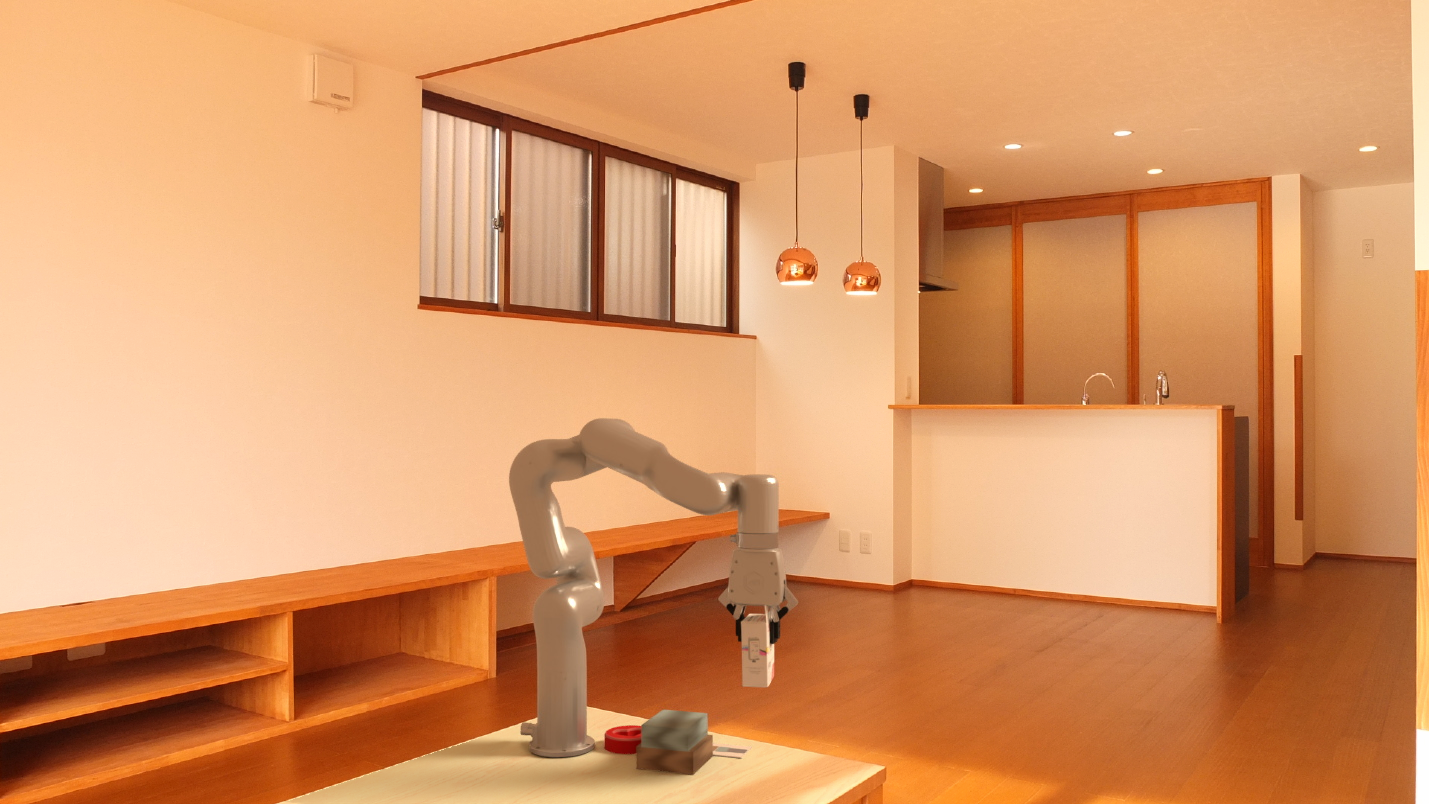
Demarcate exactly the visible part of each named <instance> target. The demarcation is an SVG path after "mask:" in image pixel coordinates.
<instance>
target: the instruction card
mask: <svg viewBox="0 0 1429 804" xmlns="http://www.w3.org/2000/svg"><path fill="white" fill-rule="evenodd" d="M751 749H752V746H751V745H750V746H749V745H741V744H739V745H738V744H729V743H720V742H719V743H717V742H713V756H715V757H724V758H734V759H742V758H743V757H744V756H745V755H747V753H748V752H750V750H751Z"/></svg>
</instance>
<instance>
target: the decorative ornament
mask: <svg viewBox="0 0 1429 804" xmlns="http://www.w3.org/2000/svg"><path fill="white" fill-rule="evenodd" d="M603 734H604V735H603V737H604V750H605V751H607V752H609V753H612V754H617V755H636V747H637V746H638V745H639V744H641V725H636V724H635V725H632V724H631V725H630V724H628V725H620V726H613V727H611V728H608V729H607V730H606V731H605V732H604V733H603Z"/></svg>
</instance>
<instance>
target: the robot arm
mask: <svg viewBox="0 0 1429 804" xmlns="http://www.w3.org/2000/svg"><path fill="white" fill-rule="evenodd" d="M606 468H608V469H611V470H612V471H615V472H616V473H619V474H622V475H624V476H626V477H628V478H630V479H632V480H635V481H636V482H638V483H641V484H643V485H645V487H646V488H648V490H649V489H650V490H651V491H653V492H654V493H656V494H657V495H659V496H660V497H661V498H664V499H666V500H667V501H670V502H671V503H674V504H675V505H677V506H680V507H682V508H685V509H687V510H688V511H691V512H694V513H696V514H698V515H703V516H709V517H710V516H716V515H718V514H724V513H728V512H736V511H737V531H736V533H735V534H730V537H729V541H730V542H731V543H734V544H736V547H737V548H734V549H733V550H732V554H731V560H730V566H729V575H728V586H727V587H726V588H725V590H724V591H722V593H721V594H720V595H719V596H718V601H719V602H720V603H721V604H722V605H723V606H724V607H725V608H726V610H728V612H729V613H730V614H731V616H732V617H733V619H734V620H735V636H736V637H737V642H738V643H740V642H741V643H742V636H741V622H742V621H743V620H744V619H745V618H746V617H747V616H745V611H746V609H747V606H753V607H756V606H757V607H765V605H767V606H769V609H768V610H769V611H770V613H771V616H772V621H771V622H770V643H771V644H774V645H775V644H776V643H778V640H779V639H780V638H781V620H783V618H784V617H785V616H786V615H788V613H789V612H790V611H791V610H793V609H794V608H795V607H797V605H798V604H799V600H798V599H797V598H796V597H795V595H794V594H793V592H792V591H791V590H790V589H789V587H788V586H787V575H786V566H785V559H784V554H783V549H781V548H779V547H780V546H779V543H780V542H779V541H780V539H779V537H780V536H779V534H780V533H779V531H780V530H779V527H780V525H779V524H780V523H779V522H780V521H779V517H780V516H779V514H780V512H779V511H780V510H779V509H780V508H779V506H780V505H779V504H780V501H779V499H780V498H779V497H780V496H779V495H780V494H779V487H780V486H779V484H780V483H779V480H778V478H777V477H776V476H775V475H771V474H755V473H754V474H744V475H743V474H737V473H731V472H712V473H708V472H705V471H703V470H701V469H699V468H695V467H693V466H692V465H689V464H687V463H685V462H683V461H681V460H679V459H678V458H675V456H673V455H672V454H670V452H669V450H668V447H667V446H666V445H665V444H663V443H662V442H661V441H658V440H656V439H654V438H651V437H649V436H646V435H645V434H642V433H639V432H638V431H636V430H635V428H634V427H633V426H632V425H631V424H630V423H629V422H628V421H626V420H623V419H620V418H607V417H606V418H605V417H603V418H600V417H599V418H595V419H592V420H590V421H588V422H586V424H585V425H584V426H583V427H582V428H581V430H580V431H579V434H577V435H575V436H572V437H569V438H560V439H559V438H547V439H546V438H545V439H539V440H536V441H534V442H531V443H529V444H527V445H526V446H524V447H523V448H522V449H521V450H520V451H519V452H518V453H517V455H516V456H515V457H514V459H513V461H512V462H511V466H510V469H509V475H508V483H509V490H510V491H509V492H510V493H511V494H510V495H511V499H512V501H513V504H514V505H513V506H514V508H515V512H516V515H517V520H518V525H519V530H520V535H521V539H522V543H523V548H524V552H525V557H526V560H527V564H528V567H529V569H530V571H531V573H532V574H534V575H535V577H538V578H539V579H542V580H543V579H544V580H549V579H550V580H551V579H555V580H556V584H555V585H551V586H550V587H548V588H546V589H544V591H542V592H541V593H540V594H539V595H538V597H537V598H536V600H535V602H534V605H533V609H532V621H533V627H534V633H535V640H536V662H537V664H536V668H537V671H536V672H537V681H536V683H537V684H536V685H537V688H536V690H537V694H536V695H537V698H536V699H537V701H536V702H537V703H536V706H537V714H536V715H537V716H536V717H537V720H536V723H532V722H526V721H525V722H524V721H523V722H522V723H521V724H520V736H530V737H531V738H532V739H531V741H529V745H528V746H529V747H528V749H529V751H530V752H531V753H532V754H534V755H537V756H540V757H546V758H547V757H548V758H567V757H574V756H580V755H584V754H587V753H589V752H591V751H592V750H593V749H594V748H595V746H596V744H595V739H594V738H593V737H592V736H590V735H588V730H587V729H588V725H587V724H588V721H587V720H588V717H587V716H588V713H587V712H588V711H587V709H588V706H587V705H588V703H587V702H588V696H587V693H588V691H587V689H588V688H587V686H588V685H587V684H588V683H587V681H588V676H587V674H588V673H587V672H588V671H587V670H588V669H587V668H588V667H587V665H588V664H587V662H588V661H587V649H586V642H585V639H584V635H583V628H584V627H586V626H588V625H591V624H593V623H594V622H596V621H597V620H598V618H600V616H601V615H602V614H603V610H604V607H605V593H604V589H603V586H602V585H603V584H602V580H601V576H600V571H599V568H598V564H597V560H596V555H595V552H594V549H593V545H592V544H591V541H590V540H589V537H587V535H586V534H585V533H584V532H583V531H581V530H580V529H578V528H575V527H572V526H566V525H565V523H564V519H563V515H562V509H561V506H560V503H559V501H558V499H557V496H556V495H555V494H554V492H553V489H552V484H554V483H559V482H569V481H574V480H578V479H580V478H581V479H582V478H584V477H586V476H588V475H592V474H593V473H597V472H599V471H601V470H603V469H606ZM785 601H787V603H786V605H784V606H783V607H781V606H780V604H781V603H784V602H785Z"/></svg>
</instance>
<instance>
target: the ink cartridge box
mask: <svg viewBox="0 0 1429 804" xmlns="http://www.w3.org/2000/svg"><path fill="white" fill-rule="evenodd" d="M745 617H746V618H745V619H744V620H743V621H742V622H741V636H742V642H741V674H742V675H741V677H742V679H741V683H742V684H741V686H742V687H747V688H748V687H750V688H768V687H769V686H770V684H771V682H772V681H773V679H774V677H775V643H774V644H771V643H770V622H771V621H772V616H771V613H770V609H769V606H767V605H765V606H764V613H748V615H747V616H745Z"/></svg>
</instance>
